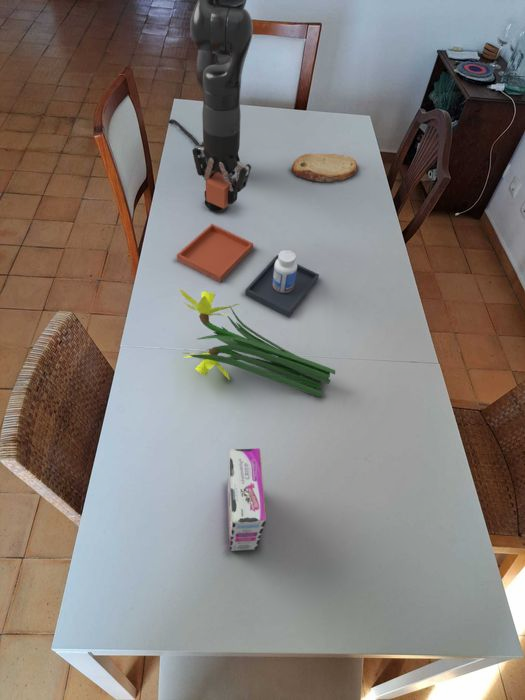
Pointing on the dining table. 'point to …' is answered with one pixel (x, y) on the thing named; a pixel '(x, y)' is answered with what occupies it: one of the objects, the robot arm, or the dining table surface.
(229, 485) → the candy bar box
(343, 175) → the slice of bread
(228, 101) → the robot arm
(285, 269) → the pill bottle
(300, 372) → the daffodil flowers
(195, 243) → the terracotta tray
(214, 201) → the terracotta block
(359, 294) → the dining table surface
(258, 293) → the slate tray
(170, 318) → the dining table surface
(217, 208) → the tape measure
